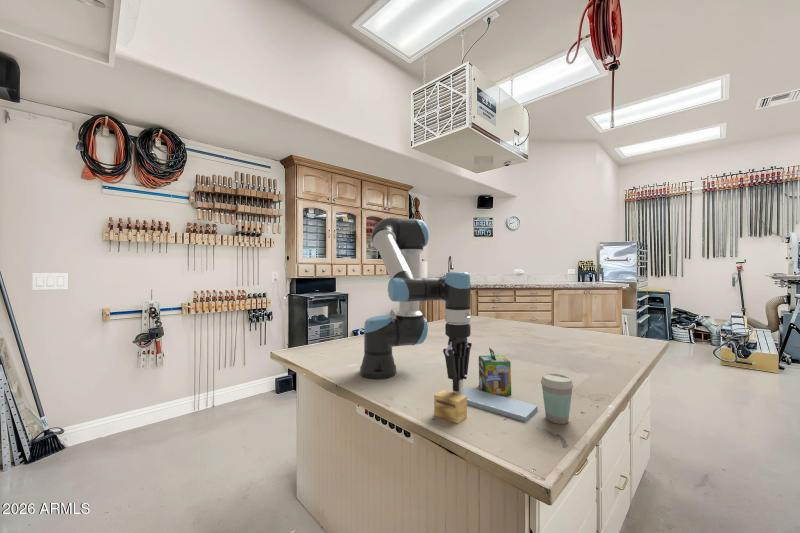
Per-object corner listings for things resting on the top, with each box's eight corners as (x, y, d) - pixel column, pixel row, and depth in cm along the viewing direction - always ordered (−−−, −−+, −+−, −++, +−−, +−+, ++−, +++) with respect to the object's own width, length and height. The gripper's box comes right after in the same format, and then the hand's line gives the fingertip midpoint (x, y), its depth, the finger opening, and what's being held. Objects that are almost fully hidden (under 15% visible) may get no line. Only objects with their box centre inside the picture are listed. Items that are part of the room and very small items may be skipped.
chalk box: (511, 395, 109) (511, 352, 110) (484, 395, 109) (484, 352, 109) (502, 385, 119) (502, 345, 119) (478, 385, 119) (478, 345, 119)
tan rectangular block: (433, 415, 94) (433, 394, 94) (443, 409, 98) (443, 389, 98) (457, 423, 89) (457, 402, 89) (466, 417, 93) (466, 396, 93)
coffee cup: (581, 423, 89) (580, 380, 89) (555, 428, 87) (555, 383, 87) (557, 410, 97) (557, 371, 98) (534, 414, 95) (534, 374, 95)
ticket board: (452, 400, 106) (452, 395, 106) (467, 391, 113) (467, 386, 113) (525, 422, 90) (525, 417, 90) (537, 410, 98) (537, 405, 98)
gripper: (457, 327, 90) (457, 411, 90) (479, 321, 100) (479, 397, 99) (435, 324, 95) (435, 404, 95) (458, 318, 105) (458, 391, 104)
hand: (458, 400), depth 97 cm, fingers closed
